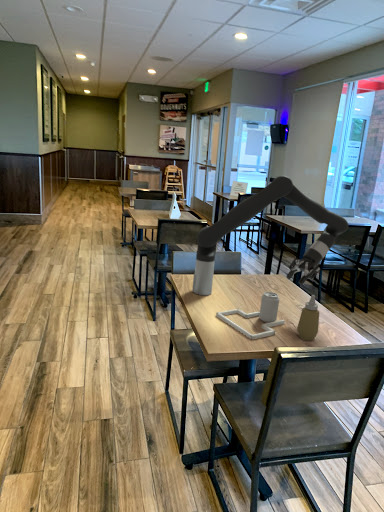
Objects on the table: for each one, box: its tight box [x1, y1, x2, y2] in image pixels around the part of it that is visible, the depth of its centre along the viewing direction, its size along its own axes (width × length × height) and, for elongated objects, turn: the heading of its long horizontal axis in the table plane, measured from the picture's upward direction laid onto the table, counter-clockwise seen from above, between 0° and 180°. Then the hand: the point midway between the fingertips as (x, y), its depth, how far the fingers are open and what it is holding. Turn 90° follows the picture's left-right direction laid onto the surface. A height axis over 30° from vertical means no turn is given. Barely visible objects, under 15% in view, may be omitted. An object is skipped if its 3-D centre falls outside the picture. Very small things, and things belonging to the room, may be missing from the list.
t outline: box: [215, 308, 285, 340], centre depth 164 cm, size 23×24×2 cm
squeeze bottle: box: [296, 294, 320, 342], centre depth 151 cm, size 8×8×18 cm
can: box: [258, 291, 280, 323], centre depth 167 cm, size 8×8×12 cm
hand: (293, 280), depth 170 cm, fingers open, 6 cm apart
